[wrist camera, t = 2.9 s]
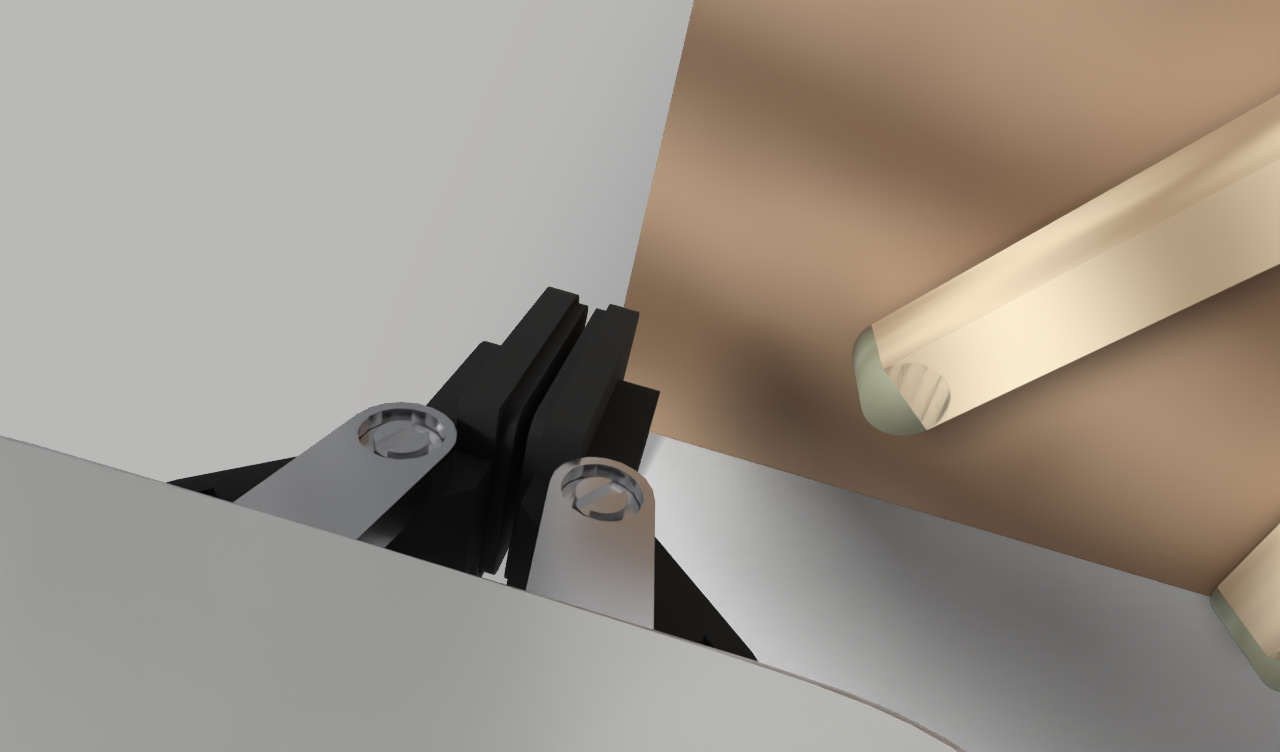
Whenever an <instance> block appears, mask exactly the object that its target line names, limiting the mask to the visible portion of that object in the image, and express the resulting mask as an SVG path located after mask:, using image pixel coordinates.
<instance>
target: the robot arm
mask: <svg viewBox="0 0 1280 752" xmlns="http://www.w3.org/2000/svg"><path fill="white" fill-rule="evenodd" d="M587 313H588V306H587V305H583V304H580V303H579V295H577V294H574V293H570V292H566V291H563V290H559V289H556V288H552V287H548V288H547V289H546V290H545V291H544V293H543V294H542V295H541V296H540V298H539V299H538V300H537V301H536V303H535V304H534V305H533V306H532V308H531V309H530V310H529V311H528V313H527V314H526V315H525V316H524V317H523V319H522V320H521V321H520V322H519V324H518V325H517V326H516V327H515V329H514V330H513V331H512V332H511V334H510V335H509V336H508V338H507V339H506V340H505V341H504V343H503V344H502V345H497V344H494V343H490V342H487V341H483V342H482V343H480V344H479V345H478V346H477V348H476V349H475V350H474V351H473V352H472V354H470V356H469V357H468V358H467V359H466V360H465V361H464V363H463V364H462V365H461V366H460V367H459V368H458V369H457V371H456V372H455V373H454V374H453V375H452V376H451V378H450V379H449V380H448V381H447V382H446V383H445V384H444V386H443V387H442V388H441V389H440V390H439V391H438V392H437V394H436V395H435V396H434V397H433V398H432V399H431V400H430V402H429V403H428V404H427V405H426V406H424V405H421V404H417V403H406V402H397V403H384V404H381V405H377V406H373V407H370V408H368V409H366V410H364V411H362V412H360V413H358V414H356V415H355V416H354V417H352V418H351V419H350V420H348V421H347V422H345V423H344V424H342V425H341V426H340V427H338V428H337V429H335V430H334V431H333V432H331V433H330V434H328V435H327V436H326V437H324V438H323V439H321V440H320V441H319V442H317V443H316V444H314V445H313V446H312V447H310V448H309V449H307V450H306V451H305V452H303V453H302V454H300V455H299V456H297V457H292V458H287V459H282V460H276V461H272V462H266V463H261V464H256V465H251V466H245V467H240V468H235V469H230V470H224V471H219V472H214V473H209V474H204V475H198V476H194V477H188V478H183V479H178V480H174V481H170V482H167V483H164V482H161V481H158V480H154V479H151V478H147V477H144V476H140V475H137V474H134V473H130V472H127V471H124V470H120V469H117V468H113V467H110V466H107V465H103V464H100V463H96V462H93V461H89V460H86V459H83V458H79V457H76V456H73V455H69V454H66V453H63V452H59V451H56V450H52V449H49V448H46V447H42V446H39V445H35V444H31V443H27V442H24V441H20V440H16V439H12V438H8V437H5V436H0V752H966V751H964V750H963V749H961V748H960V747H958V746H957V745H955V744H953V743H952V742H950V741H949V740H947V739H946V738H944V737H942V736H940V735H938V734H936V733H934V732H932V731H931V730H929V729H927V728H925V727H923V726H921V725H919V724H917V723H915V722H913V721H911V720H910V719H908V718H906V717H904V716H902V715H900V714H898V713H896V712H894V711H891V710H889V709H887V708H884V707H882V706H879V705H877V704H875V703H872V702H870V701H867V700H865V699H863V698H860V697H858V696H856V695H853V694H851V693H848V692H846V691H843V690H840V689H837V688H834V687H831V686H828V685H825V684H822V683H819V682H816V681H813V680H810V679H807V678H804V677H801V676H798V675H795V674H793V673H790V672H787V671H784V670H781V669H778V668H775V667H772V666H769V665H766V664H763V663H760V662H758V661H757V659H756V657H755V656H754V654H753V653H752V651H751V650H750V649H749V648H748V647H747V645H746V644H745V643H744V642H743V641H742V640H741V638H740V637H739V636H738V635H737V634H736V632H735V631H734V630H733V629H732V628H731V626H730V625H729V624H728V623H727V622H726V621H725V619H724V618H723V617H722V616H721V615H720V613H719V612H718V611H717V610H716V609H715V607H714V606H713V605H712V604H711V603H710V602H709V600H708V599H707V598H706V597H705V596H704V594H703V593H702V592H701V591H700V590H699V588H698V587H697V586H696V585H695V584H694V583H693V581H692V580H691V579H690V578H689V577H688V575H687V574H686V573H685V572H684V571H683V569H682V568H681V567H680V566H679V565H678V564H677V562H676V561H675V560H674V559H673V558H672V556H671V555H670V554H669V553H668V552H667V550H666V549H665V548H664V547H663V546H662V545H661V543H660V542H659V541H658V540H657V539H656V537H655V499H654V494H653V490H652V488H651V487H650V485H649V484H648V482H647V480H646V479H645V478H644V477H643V476H641V475H640V474H639V473H638V469H639V466H640V462H641V459H642V455H643V451H644V448H645V445H646V441H647V438H648V434H649V431H650V427H651V423H652V420H653V416H654V413H655V409H656V406H657V402H658V399H659V395H660V391H658V390H655V389H651V388H648V387H644V386H641V385H637V384H634V383H630V382H627V381H624V377H625V373H626V368H627V364H628V360H629V356H630V352H631V348H632V344H633V340H634V336H635V332H636V328H637V324H638V319H639V314H640V312H638V311H634V310H631V309H627V308H623V307H620V306H616V305H612V304H610V305H609V306H608V308H607V310H606V311H605V310H601V309H596V310H595V312H594V313H593V315H592V316H591V318H590V320H589V322H588V323H587V325H586V327H585V323H586V318H587ZM508 548H509V551H508V556H507V562H506V568H505V575H504V577H505V578H506V579H508V580H507V585H504V584H502V583H498V582H495V581H492V580H488V579H485V578H482V575H483V573H484V572H486V573H490V574H493V575H495V574H496V572H497V571H498V569H499V567H500V565H501V563H502V561H503V558H504V556H505V554H506V552H507V550H508Z"/></svg>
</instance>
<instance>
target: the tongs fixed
mask: <svg viewBox="0 0 1280 752" xmlns="http://www.w3.org/2000/svg"><path fill="white" fill-rule="evenodd" d="M1210 603H1211V607H1212V609H1213V610H1214V612H1215V613H1216V614H1217V616H1218V617H1219V619H1220V620H1221V622H1222V623H1223V625H1224V626H1225V627H1226V629H1227V630H1228V632H1229V633H1230V635H1231V636H1232V638H1233V639H1234V640H1235V642H1236V643H1237V645H1238V646H1239V648H1240V649H1241V651H1242V652H1243V653H1244V655H1245V656H1246V658H1247V659H1248V661H1249V662H1250V664H1251V665H1252V666H1253V668H1254V669H1255V671H1256V672H1257V674H1258V675H1259V677H1260V678H1261V680H1262V681H1263V682H1264V683H1265V684H1266V685H1267V686H1268V687H1270V688H1271V689H1274V690H1276V691H1279V692H1280V524H1279V525H1278V526H1277V527H1276V528H1275V529H1274V530H1273V531H1272V532H1271V533H1270V534H1269V535H1268V536H1267V537H1266V538H1265V539H1264V540H1263V541H1262V542H1261V543H1260V544H1259V545H1258V546H1257V547H1256V548H1255V549H1254V550H1253V551H1252V552H1251V553H1250V554H1249V555H1248V556H1247V557H1246V558H1245V559H1244V560H1243V561H1242V562H1241V563H1240V564H1239V565H1238V566H1237V567H1236V568H1235V569H1234V570H1233V571H1232V572H1231V573H1230V574H1229V575H1228V576H1227V577H1226V578H1225V579H1224V580H1223V581H1222V582H1221V583H1220V584H1219V585H1218V586H1217V588H1216V589H1215V590H1214V591H1213V593H1212V595H1211V599H1210Z"/></svg>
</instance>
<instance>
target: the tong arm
mask: <svg viewBox="0 0 1280 752" xmlns="http://www.w3.org/2000/svg"><path fill="white" fill-rule="evenodd" d="M1278 264H1280V94H1278V95H1277V96H1275V97H1273V98H1271V99H1270V100H1268V101H1266V102H1264V103H1263V104H1261V105H1259V106H1257V107H1255V108H1254V109H1252V110H1250V111H1248V112H1247V113H1245V114H1243V115H1241V116H1240V117H1238V118H1236V119H1234V120H1232V121H1231V122H1229V123H1227V124H1225V125H1224V126H1222V127H1220V128H1218V129H1217V130H1215V131H1213V132H1211V133H1209V134H1208V135H1206V136H1204V137H1202V138H1201V139H1199V140H1197V141H1195V142H1194V143H1192V144H1190V145H1188V146H1186V147H1185V148H1183V149H1181V150H1179V151H1178V152H1176V153H1174V154H1172V155H1171V156H1169V157H1167V158H1165V159H1163V160H1162V161H1160V162H1158V163H1156V164H1155V165H1153V166H1151V167H1149V168H1148V169H1146V170H1144V171H1142V172H1140V173H1139V174H1137V175H1135V176H1133V177H1132V178H1130V179H1128V180H1126V181H1125V182H1123V183H1121V184H1119V185H1118V186H1116V187H1114V188H1112V189H1110V190H1109V191H1107V192H1105V193H1103V194H1102V195H1100V196H1098V197H1096V198H1095V199H1093V200H1091V201H1089V202H1087V203H1086V204H1084V205H1082V206H1080V207H1079V208H1077V209H1075V210H1073V211H1072V212H1070V213H1068V214H1066V215H1064V216H1063V217H1061V218H1059V219H1057V220H1056V221H1054V222H1052V223H1050V224H1049V225H1047V226H1045V227H1043V228H1041V229H1040V230H1038V231H1036V232H1034V233H1033V234H1031V235H1029V236H1027V237H1026V238H1024V239H1022V240H1020V241H1018V242H1017V243H1015V244H1013V245H1011V246H1010V247H1008V248H1006V249H1004V250H1003V251H1001V252H999V253H997V254H995V255H994V256H992V257H990V258H988V259H987V260H985V261H983V262H981V263H980V264H978V265H976V266H974V267H972V268H971V269H969V270H967V271H965V272H964V273H962V274H960V275H958V276H957V277H955V278H953V279H951V280H950V281H948V282H946V283H944V284H942V285H941V286H939V287H937V288H935V289H934V290H932V291H930V292H928V293H927V294H925V295H923V296H921V297H919V298H918V299H916V300H914V301H912V302H911V303H909V304H907V305H905V306H904V307H902V308H900V309H898V310H896V311H895V312H893V313H891V314H889V315H888V316H886V317H884V318H882V319H881V320H879V321H877V322H875V323H873V324H872V325H870V326H869V327H867V328H866V329H865V330H863V331H862V332H861V334H860V335H859V336H858V337H857V339H856V341H855V343H854V346H853V350H852V360H853V365H854V371H855V376H856V381H857V387H858V392H859V398H860V403H861V408H862V412H863V414H864V416H865V418H866V419H867V421H868V422H869V423H870V424H871V425H872V426H874V427H875V428H877V429H878V430H880V431H882V432H885V433H888V434H892V435H899V436H906V435H914V434H918V433H921V432H924V431H926V430H928V429H931V428H933V427H935V426H937V425H939V424H941V423H943V422H945V421H947V420H950V419H952V418H954V417H956V416H958V415H960V414H962V413H964V412H967V411H969V410H971V409H973V408H975V407H977V406H979V405H981V404H984V403H986V402H988V401H990V400H992V399H994V398H996V397H998V396H1000V395H1003V394H1005V393H1007V392H1009V391H1011V390H1013V389H1015V388H1017V387H1020V386H1022V385H1024V384H1026V383H1028V382H1030V381H1032V380H1034V379H1037V378H1039V377H1041V376H1043V375H1045V374H1047V373H1049V372H1051V371H1053V370H1056V369H1058V368H1060V367H1062V366H1064V365H1066V364H1068V363H1070V362H1073V361H1075V360H1077V359H1079V358H1081V357H1083V356H1085V355H1087V354H1090V353H1092V352H1094V351H1096V350H1098V349H1100V348H1102V347H1104V346H1106V345H1109V344H1111V343H1113V342H1115V341H1117V340H1119V339H1121V338H1123V337H1126V336H1128V335H1130V334H1132V333H1134V332H1136V331H1138V330H1140V329H1143V328H1145V327H1147V326H1149V325H1151V324H1153V323H1155V322H1157V321H1159V320H1162V319H1164V318H1166V317H1168V316H1170V315H1172V314H1174V313H1176V312H1179V311H1181V310H1183V309H1185V308H1187V307H1189V306H1191V305H1193V304H1196V303H1198V302H1200V301H1202V300H1204V299H1206V298H1208V297H1210V296H1212V295H1215V294H1217V293H1219V292H1221V291H1223V290H1225V289H1227V288H1229V287H1232V286H1234V285H1236V284H1238V283H1240V282H1242V281H1244V280H1246V279H1249V278H1251V277H1253V276H1255V275H1257V274H1259V273H1261V272H1263V271H1265V270H1268V269H1270V268H1272V267H1274V266H1276V265H1278Z"/></svg>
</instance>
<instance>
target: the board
mask: <svg viewBox="0 0 1280 752" xmlns="http://www.w3.org/2000/svg"><path fill="white" fill-rule="evenodd" d="M1278 94H1280V0H694V3H693V8H692V12H691V16H690V21H689V25H688V29H687V34H686V38H685V42H684V47H683V51H682V55H681V60H680V64H679V69H678V73H677V77H676V82H675V86H674V90H673V95H672V99H671V103H670V108H669V112H668V116H667V121H666V125H665V130H664V134H663V139H662V143H661V147H660V151H659V156H658V160H657V165H656V169H655V173H654V178H653V182H652V186H651V191H650V195H649V199H648V204H647V208H646V212H645V217H644V222H643V225H642V230H641V234H640V239H639V243H638V247H637V252H636V256H635V260H634V265H633V269H632V274H631V278H630V282H629V286H628V291H627V295H626V300H625V304H624V308H627V309H631V310H634V311H638V312H640V314H639V319H638V324H637V328H636V332H635V336H634V340H633V344H632V348H631V352H630V356H629V360H628V364H627V368H626V373H625V377H624V381H627V382H630V383H634V384H637V385H641V386H644V387H648V388H651V389H655V390H658V391H660V395H659V399H658V402H657V406H656V409H655V413H654V416H653V420H652V423H651V427H650V431H649V432H652V433H655V434H659V435H662V436H665V437H669V438H672V439H676V440H679V441H682V442H686V443H689V444H693V445H696V446H699V447H703V448H706V449H710V450H713V451H716V452H720V453H723V454H727V455H730V456H733V457H737V458H740V459H744V460H747V461H750V462H754V463H757V464H761V465H764V466H767V467H771V468H774V469H778V470H781V471H784V472H788V473H791V474H795V475H798V476H801V477H805V478H808V479H812V480H815V481H818V482H822V483H825V484H829V485H832V486H835V487H839V488H842V489H846V490H849V491H852V492H856V493H859V494H863V495H866V496H869V497H873V498H876V499H880V500H883V501H887V502H890V503H893V504H897V505H900V506H904V507H907V508H910V509H914V510H917V511H921V512H924V513H927V514H931V515H934V516H938V517H941V518H944V519H948V520H951V521H955V522H958V523H961V524H965V525H968V526H972V527H975V528H978V529H982V530H985V531H989V532H992V533H995V534H999V535H1002V536H1006V537H1009V538H1012V539H1016V540H1019V541H1023V542H1026V543H1029V544H1033V545H1036V546H1040V547H1043V548H1046V549H1050V550H1053V551H1057V552H1060V553H1063V554H1067V555H1070V556H1074V557H1077V558H1080V559H1084V560H1087V561H1091V562H1094V563H1097V564H1101V565H1104V566H1108V567H1111V568H1114V569H1118V570H1121V571H1125V572H1128V573H1131V574H1135V575H1138V576H1142V577H1145V578H1148V579H1152V580H1155V581H1159V582H1162V583H1165V584H1169V585H1172V586H1176V587H1179V588H1182V589H1186V590H1189V591H1193V592H1196V593H1199V594H1203V595H1206V596H1210V597H1211V595H1212V593H1213V591H1214V590H1215V589H1216V588H1217V586H1218V585H1219V584H1220V583H1221V582H1222V581H1223V580H1224V579H1225V578H1226V577H1227V576H1228V575H1229V574H1230V573H1231V572H1232V571H1233V570H1234V569H1235V568H1236V567H1237V566H1238V565H1239V564H1240V563H1241V562H1242V561H1243V560H1244V559H1245V558H1246V557H1247V556H1248V555H1249V554H1250V553H1251V552H1252V551H1253V550H1254V549H1255V548H1256V547H1257V546H1258V545H1259V544H1260V543H1261V542H1262V541H1263V540H1264V539H1265V538H1266V537H1267V536H1268V535H1269V534H1270V533H1271V532H1272V531H1273V530H1274V529H1275V528H1276V527H1277V526H1278V525H1279V524H1280V264H1278V265H1276V266H1274V267H1272V268H1270V269H1268V270H1265V271H1263V272H1261V273H1259V274H1257V275H1255V276H1253V277H1251V278H1249V279H1246V280H1244V281H1242V282H1240V283H1238V284H1236V285H1234V286H1232V287H1229V288H1227V289H1225V290H1223V291H1221V292H1219V293H1217V294H1215V295H1212V296H1210V297H1208V298H1206V299H1204V300H1202V301H1200V302H1198V303H1196V304H1193V305H1191V306H1189V307H1187V308H1185V309H1183V310H1181V311H1179V312H1176V313H1174V314H1172V315H1170V316H1168V317H1166V318H1164V319H1162V320H1159V321H1157V322H1155V323H1153V324H1151V325H1149V326H1147V327H1145V328H1143V329H1140V330H1138V331H1136V332H1134V333H1132V334H1130V335H1128V336H1126V337H1123V338H1121V339H1119V340H1117V341H1115V342H1113V343H1111V344H1109V345H1106V346H1104V347H1102V348H1100V349H1098V350H1096V351H1094V352H1092V353H1090V354H1087V355H1085V356H1083V357H1081V358H1079V359H1077V360H1075V361H1073V362H1070V363H1068V364H1066V365H1064V366H1062V367H1060V368H1058V369H1056V370H1053V371H1051V372H1049V373H1047V374H1045V375H1043V376H1041V377H1039V378H1037V379H1034V380H1032V381H1030V382H1028V383H1026V384H1024V385H1022V386H1020V387H1017V388H1015V389H1013V390H1011V391H1009V392H1007V393H1005V394H1003V395H1000V396H998V397H996V398H994V399H992V400H990V401H988V402H986V403H984V404H981V405H979V406H977V407H975V408H973V409H971V410H969V411H967V412H964V413H962V414H960V415H958V416H956V417H954V418H952V419H950V420H947V421H945V422H943V423H941V424H939V425H937V426H935V427H933V428H931V429H928V430H926V431H924V432H921V433H918V434H914V435H906V436H899V435H892V434H888V433H885V432H882V431H880V430H878V429H877V428H875V427H874V426H872V425H871V424H870V423H869V422H868V421H867V419H866V418H865V416H864V414H863V412H862V408H861V403H860V398H859V392H858V387H857V381H856V376H855V371H854V365H853V360H852V350H853V346H854V343H855V341H856V339H857V337H858V336H859V335H860V334H861V332H862V331H863V330H865V329H866V328H867V327H869V326H870V325H872V324H873V323H875V322H877V321H879V320H881V319H882V318H884V317H886V316H888V315H889V314H891V313H893V312H895V311H896V310H898V309H900V308H902V307H904V306H905V305H907V304H909V303H911V302H912V301H914V300H916V299H918V298H919V297H921V296H923V295H925V294H927V293H928V292H930V291H932V290H934V289H935V288H937V287H939V286H941V285H942V284H944V283H946V282H948V281H950V280H951V279H953V278H955V277H957V276H958V275H960V274H962V273H964V272H965V271H967V270H969V269H971V268H972V267H974V266H976V265H978V264H980V263H981V262H983V261H985V260H987V259H988V258H990V257H992V256H994V255H995V254H997V253H999V252H1001V251H1003V250H1004V249H1006V248H1008V247H1010V246H1011V245H1013V244H1015V243H1017V242H1018V241H1020V240H1022V239H1024V238H1026V237H1027V236H1029V235H1031V234H1033V233H1034V232H1036V231H1038V230H1040V229H1041V228H1043V227H1045V226H1047V225H1049V224H1050V223H1052V222H1054V221H1056V220H1057V219H1059V218H1061V217H1063V216H1064V215H1066V214H1068V213H1070V212H1072V211H1073V210H1075V209H1077V208H1079V207H1080V206H1082V205H1084V204H1086V203H1087V202H1089V201H1091V200H1093V199H1095V198H1096V197H1098V196H1100V195H1102V194H1103V193H1105V192H1107V191H1109V190H1110V189H1112V188H1114V187H1116V186H1118V185H1119V184H1121V183H1123V182H1125V181H1126V180H1128V179H1130V178H1132V177H1133V176H1135V175H1137V174H1139V173H1140V172H1142V171H1144V170H1146V169H1148V168H1149V167H1151V166H1153V165H1155V164H1156V163H1158V162H1160V161H1162V160H1163V159H1165V158H1167V157H1169V156H1171V155H1172V154H1174V153H1176V152H1178V151H1179V150H1181V149H1183V148H1185V147H1186V146H1188V145H1190V144H1192V143H1194V142H1195V141H1197V140H1199V139H1201V138H1202V137H1204V136H1206V135H1208V134H1209V133H1211V132H1213V131H1215V130H1217V129H1218V128H1220V127H1222V126H1224V125H1225V124H1227V123H1229V122H1231V121H1232V120H1234V119H1236V118H1238V117H1240V116H1241V115H1243V114H1245V113H1247V112H1248V111H1250V110H1252V109H1254V108H1255V107H1257V106H1259V105H1261V104H1263V103H1264V102H1266V101H1268V100H1270V99H1271V98H1273V97H1275V96H1277V95H1278Z"/></svg>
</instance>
